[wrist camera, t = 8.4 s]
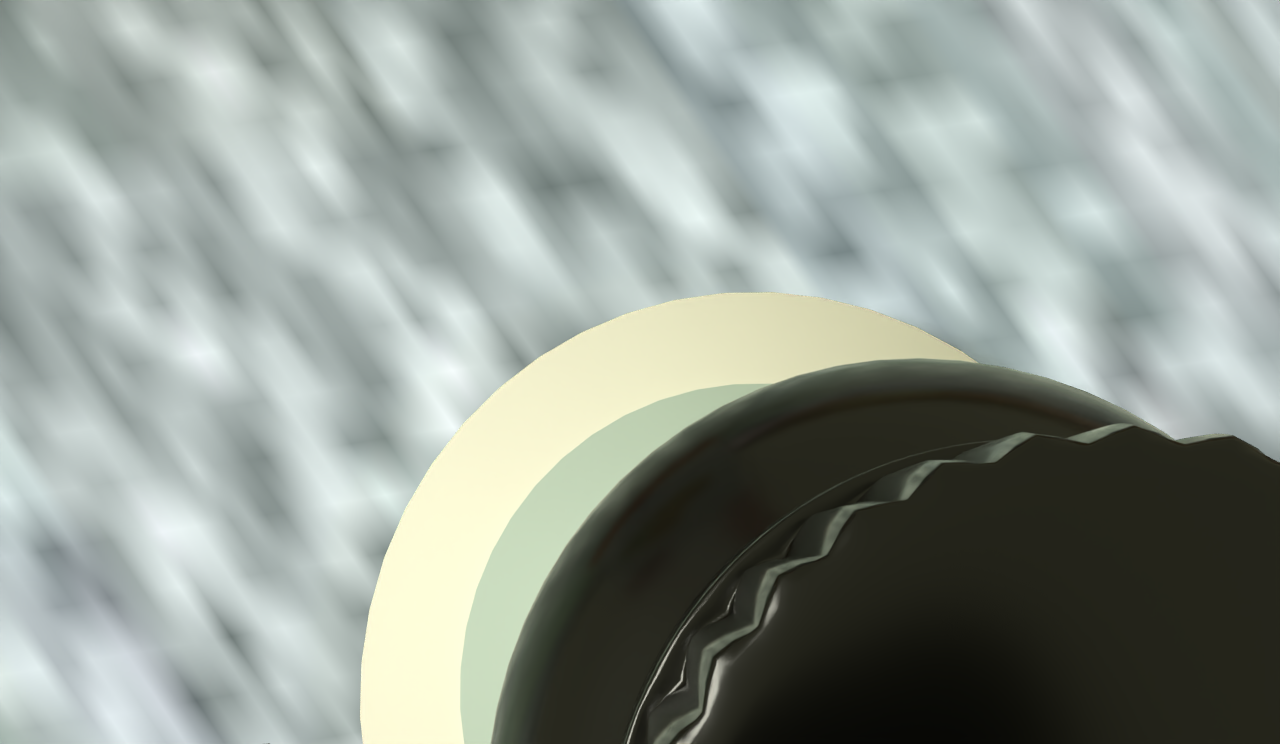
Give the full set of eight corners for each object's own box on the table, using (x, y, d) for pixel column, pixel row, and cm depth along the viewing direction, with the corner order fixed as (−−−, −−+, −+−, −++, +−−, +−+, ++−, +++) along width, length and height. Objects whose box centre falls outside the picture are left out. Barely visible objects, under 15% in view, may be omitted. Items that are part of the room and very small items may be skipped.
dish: (767, 170, 19) (778, 141, 18) (1279, 699, 18) (1333, 709, 17) (223, 649, 18) (191, 655, 16) (736, 1269, 16) (746, 1332, 15)
